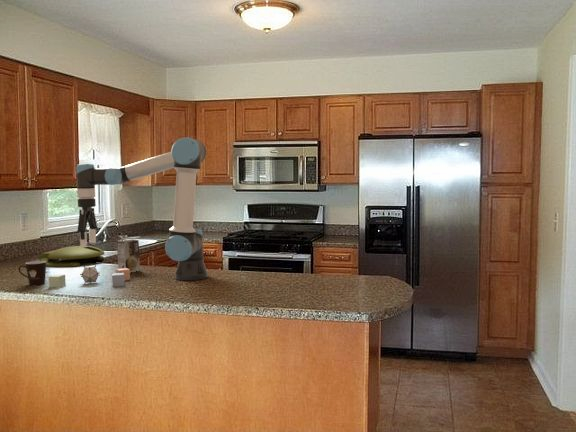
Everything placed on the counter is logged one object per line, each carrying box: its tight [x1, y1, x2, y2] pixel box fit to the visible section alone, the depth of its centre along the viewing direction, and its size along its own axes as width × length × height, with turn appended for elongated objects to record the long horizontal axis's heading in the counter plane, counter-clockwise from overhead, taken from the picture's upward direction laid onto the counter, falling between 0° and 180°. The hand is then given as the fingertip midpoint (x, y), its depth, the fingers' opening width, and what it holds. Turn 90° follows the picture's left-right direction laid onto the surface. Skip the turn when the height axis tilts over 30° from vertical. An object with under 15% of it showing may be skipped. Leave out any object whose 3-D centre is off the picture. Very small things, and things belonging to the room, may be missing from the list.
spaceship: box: [36, 245, 105, 268], centre depth 309 cm, size 35×31×10 cm
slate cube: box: [111, 272, 125, 287], centre depth 240 cm, size 5×5×5 cm
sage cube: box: [48, 274, 67, 288], centre depth 239 cm, size 5×5×5 cm
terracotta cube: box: [115, 268, 131, 281], centre depth 253 cm, size 5×5×5 cm
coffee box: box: [116, 239, 141, 274], centre depth 273 cm, size 9×6×16 cm
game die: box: [79, 265, 101, 285], centre depth 245 cm, size 9×8×10 cm
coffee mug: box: [17, 260, 47, 286], centre depth 246 cm, size 12×9×10 cm
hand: (88, 244), depth 244 cm, fingers open, 13 cm apart
